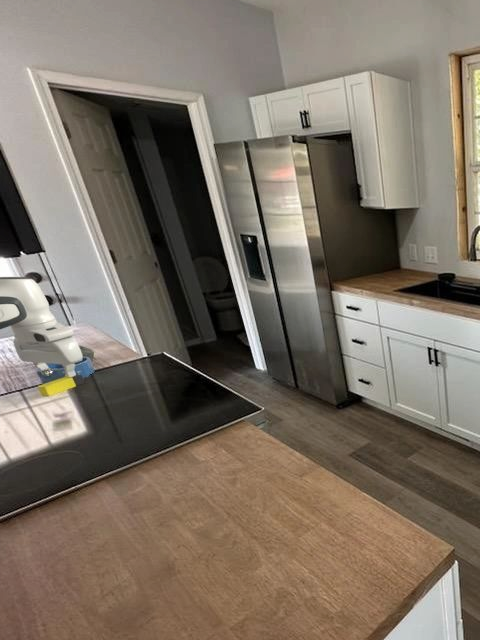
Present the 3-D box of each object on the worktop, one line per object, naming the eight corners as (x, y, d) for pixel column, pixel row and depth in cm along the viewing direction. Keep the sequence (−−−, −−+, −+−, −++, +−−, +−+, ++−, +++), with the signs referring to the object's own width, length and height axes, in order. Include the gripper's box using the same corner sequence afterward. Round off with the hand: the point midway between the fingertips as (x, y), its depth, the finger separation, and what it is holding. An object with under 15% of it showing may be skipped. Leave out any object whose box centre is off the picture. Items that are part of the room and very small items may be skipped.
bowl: (60, 387, 126) (53, 372, 124) (31, 384, 128) (24, 370, 127) (105, 371, 137) (99, 357, 135) (77, 369, 140) (71, 355, 138)
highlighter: (49, 396, 120) (44, 386, 119) (41, 395, 121) (36, 385, 120) (85, 383, 128) (81, 374, 127) (78, 382, 129) (73, 373, 128)
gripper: (-2, 334, 118) (21, 377, 123) (50, 336, 113) (71, 382, 118) (26, 327, 123) (47, 369, 128) (77, 329, 119) (96, 373, 124)
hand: (59, 375), depth 123 cm, fingers open, 8 cm apart
